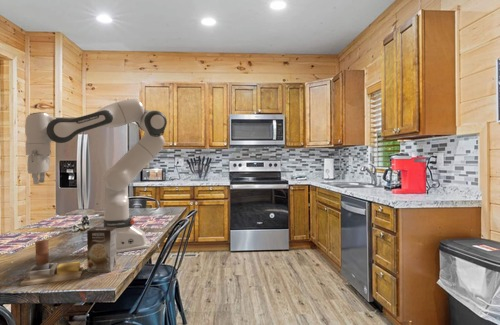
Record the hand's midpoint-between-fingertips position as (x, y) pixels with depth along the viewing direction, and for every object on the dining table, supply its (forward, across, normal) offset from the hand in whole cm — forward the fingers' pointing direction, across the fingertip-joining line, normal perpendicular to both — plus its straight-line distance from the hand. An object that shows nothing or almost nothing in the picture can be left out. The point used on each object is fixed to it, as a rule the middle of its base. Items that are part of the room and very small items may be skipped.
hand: (39, 183), depth 136 cm
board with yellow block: (+33, -22, -9) cm, 41 cm away
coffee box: (+33, -22, -25) cm, 47 cm away
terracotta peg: (+32, -22, -5) cm, 39 cm away
